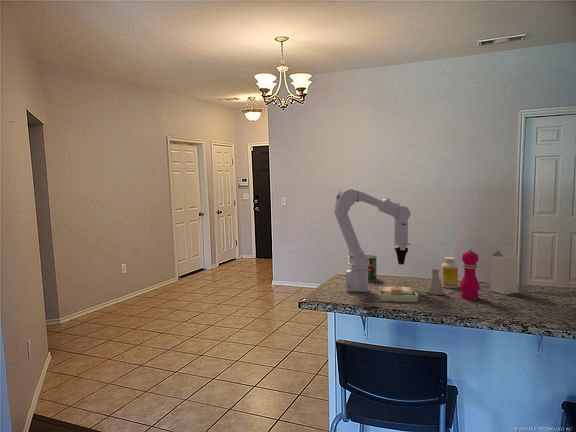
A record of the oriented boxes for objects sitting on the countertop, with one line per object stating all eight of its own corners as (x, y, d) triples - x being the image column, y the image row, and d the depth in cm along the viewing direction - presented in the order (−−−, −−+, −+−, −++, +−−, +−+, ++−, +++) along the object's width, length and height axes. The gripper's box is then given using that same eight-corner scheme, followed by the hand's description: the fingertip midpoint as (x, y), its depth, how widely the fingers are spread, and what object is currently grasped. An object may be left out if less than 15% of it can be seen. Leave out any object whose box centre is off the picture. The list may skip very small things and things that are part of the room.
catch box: (379, 301, 160) (379, 294, 160) (378, 297, 166) (378, 291, 166) (418, 302, 158) (418, 296, 158) (416, 298, 164) (416, 292, 163)
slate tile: (402, 299, 161) (402, 293, 161) (402, 296, 165) (402, 290, 164) (413, 300, 160) (413, 293, 159) (412, 297, 163) (413, 291, 163)
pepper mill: (481, 300, 159) (482, 249, 157) (461, 299, 160) (462, 248, 159) (477, 295, 166) (477, 246, 164) (457, 295, 167) (458, 246, 166)
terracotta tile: (390, 298, 163) (391, 300, 160) (390, 288, 163) (391, 289, 160) (400, 298, 162) (401, 300, 160) (400, 288, 162) (401, 290, 160)
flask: (447, 295, 167) (447, 271, 167) (429, 295, 168) (429, 271, 167) (440, 291, 175) (441, 267, 174) (423, 291, 175) (423, 267, 174)
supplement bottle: (460, 288, 178) (460, 259, 177) (444, 288, 178) (444, 259, 177) (454, 284, 185) (454, 256, 184) (439, 285, 185) (439, 256, 184)
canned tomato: (361, 280, 196) (361, 257, 195) (358, 277, 204) (358, 255, 203) (378, 280, 195) (377, 257, 195) (375, 277, 203) (375, 255, 203)
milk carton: (517, 293, 169) (518, 247, 168) (504, 295, 166) (505, 248, 165) (502, 289, 176) (503, 245, 174) (490, 291, 173) (491, 246, 172)
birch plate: (379, 297, 166) (379, 290, 166) (378, 292, 174) (378, 286, 174) (415, 298, 164) (415, 291, 164) (412, 293, 172) (412, 287, 172)
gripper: (412, 235, 172) (412, 267, 173) (408, 231, 186) (408, 261, 187) (395, 235, 173) (395, 267, 174) (392, 231, 187) (392, 261, 188)
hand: (401, 264), depth 181 cm, fingers closed
